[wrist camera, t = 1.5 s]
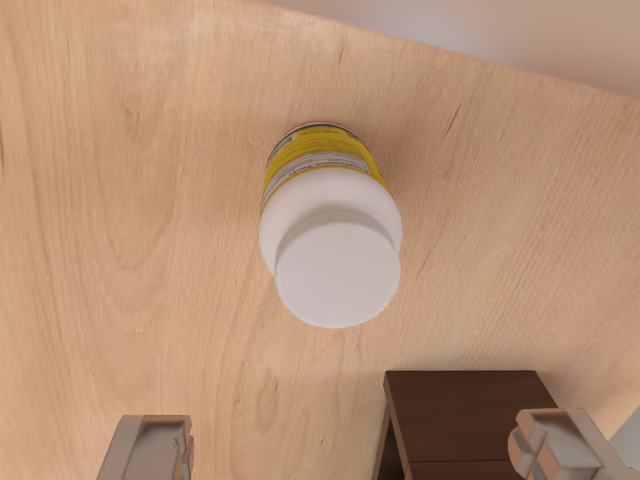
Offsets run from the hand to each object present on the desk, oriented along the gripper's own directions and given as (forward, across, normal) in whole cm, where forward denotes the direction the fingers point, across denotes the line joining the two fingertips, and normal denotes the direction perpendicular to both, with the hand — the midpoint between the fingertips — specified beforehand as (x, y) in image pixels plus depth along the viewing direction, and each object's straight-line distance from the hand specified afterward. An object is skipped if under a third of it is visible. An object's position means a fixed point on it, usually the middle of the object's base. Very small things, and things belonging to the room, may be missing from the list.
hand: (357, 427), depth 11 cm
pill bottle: (+17, 0, 0) cm, 17 cm away
